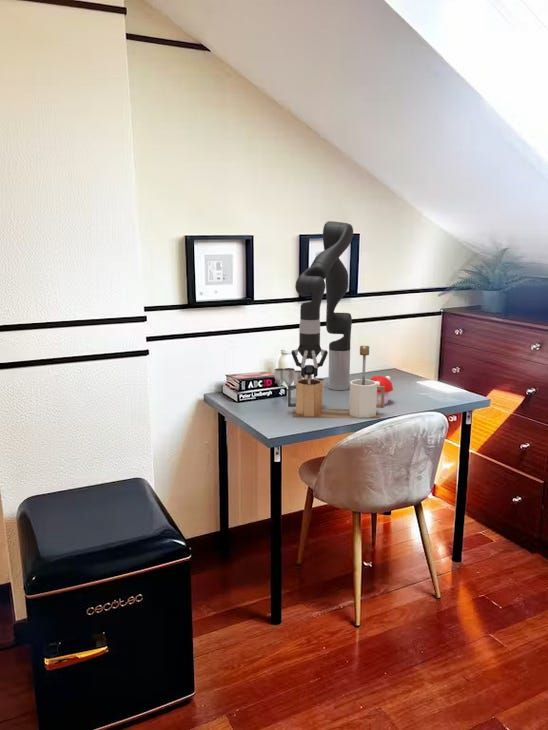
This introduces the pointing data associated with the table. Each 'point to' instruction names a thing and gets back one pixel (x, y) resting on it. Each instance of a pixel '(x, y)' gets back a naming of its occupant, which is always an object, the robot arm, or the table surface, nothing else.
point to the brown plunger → (364, 360)
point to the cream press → (364, 398)
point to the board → (333, 414)
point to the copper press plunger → (309, 372)
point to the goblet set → (291, 376)
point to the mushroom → (386, 383)
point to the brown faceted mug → (307, 397)
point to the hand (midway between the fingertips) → (309, 377)
